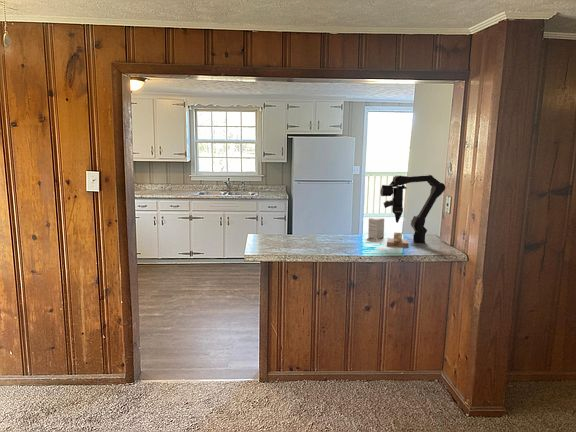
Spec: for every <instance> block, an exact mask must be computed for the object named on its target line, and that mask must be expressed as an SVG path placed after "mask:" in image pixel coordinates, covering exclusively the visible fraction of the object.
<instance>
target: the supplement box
mask: <svg viewBox="0 0 576 432" xmlns="http://www.w3.org/2000/svg"><path fill="white" fill-rule="evenodd" d="M367 234H368V238H372V239H375V240H377V239H381V238H382V237H383V238H384V236H385V218H383V217H375V216H374V217H369V218H368V232H367Z"/></svg>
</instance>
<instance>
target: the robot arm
mask: <svg viewBox="0 0 576 432" xmlns="http://www.w3.org/2000/svg"><path fill="white" fill-rule="evenodd" d="M423 182H427V183H428V185H429V186H431V189H430V192H429V193H430V194H429V196H428V198H427V200H425V203H424V204H423V206H422V208H421V210H420V211H419V213H418V214H417V215H416V216H415V215H413V217H412V220H411V221H410V226H411V228H412V229H413V231H414V233H413V234H412V235H413V236H412V237H413V239H412V241H413V243H420V244H421V243H422V244H425V243H426V234H427V232H428V229H427V228H426V227H425V223H426V218H427V216H428V214H429V213H430V210H432V208H433V206H434V204H435V202H436V201H437V199H438V198H439V197H440V196H441V195H443V192H445V190H446V185H445V184H444V183H442V182H440V181H439V180H438V179H436V178H435V177H434V176H433V175H431V174H425V175H423V174H422V175H410V176H407V175H397V174H396V175H394V176H393V178H392V181H391V182H390V183H389V184H381V187H380V196H381V197H392V199H390V200H385V201H384V202H383V207H384V209H387V208H388V207H392V208H391V211H392V213H393V214H394V217H395V223H399V221H400V219H401V217H402V214H403V213H404V207H403V201H404V190H407V187H406V185H407V184H409V183H410V184H411V183H423Z"/></svg>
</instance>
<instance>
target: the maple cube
mask: <svg viewBox="0 0 576 432" xmlns="http://www.w3.org/2000/svg"><path fill="white" fill-rule="evenodd" d="M393 239H394V241H398V242H401V241H402V239H403V232H394V233H393Z"/></svg>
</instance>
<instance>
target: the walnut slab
mask: <svg viewBox="0 0 576 432" xmlns="http://www.w3.org/2000/svg"><path fill="white" fill-rule="evenodd" d="M386 247H390V248H391V247H395V248H409V239H408V238H402V241H401V242H398V241H394V238H387V240H386Z"/></svg>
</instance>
